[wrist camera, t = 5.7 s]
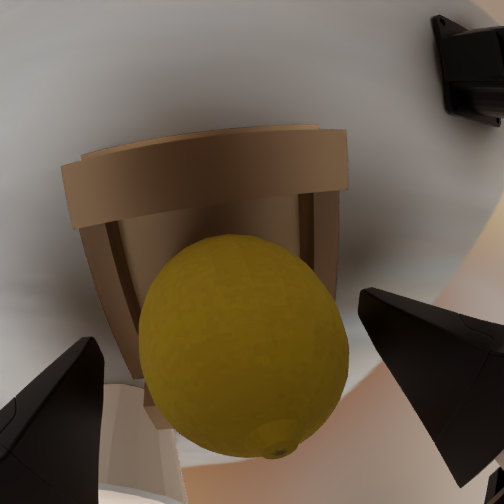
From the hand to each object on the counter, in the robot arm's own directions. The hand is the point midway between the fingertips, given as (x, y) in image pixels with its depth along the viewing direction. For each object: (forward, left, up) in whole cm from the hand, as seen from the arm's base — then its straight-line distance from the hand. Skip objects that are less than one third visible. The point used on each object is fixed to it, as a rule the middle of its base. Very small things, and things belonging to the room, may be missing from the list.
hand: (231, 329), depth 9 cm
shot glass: (+7, +9, -5) cm, 13 cm away
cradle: (0, 0, -4) cm, 4 cm away
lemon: (0, 0, -4) cm, 4 cm away
